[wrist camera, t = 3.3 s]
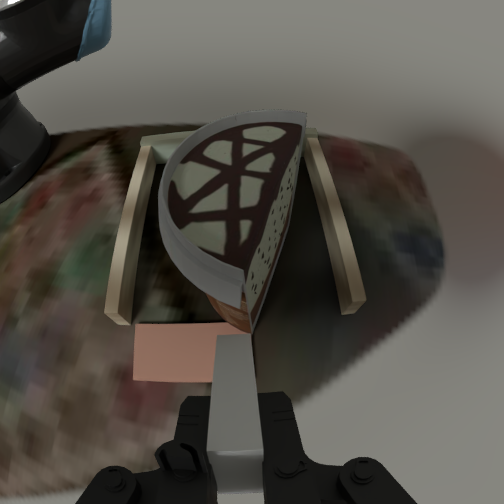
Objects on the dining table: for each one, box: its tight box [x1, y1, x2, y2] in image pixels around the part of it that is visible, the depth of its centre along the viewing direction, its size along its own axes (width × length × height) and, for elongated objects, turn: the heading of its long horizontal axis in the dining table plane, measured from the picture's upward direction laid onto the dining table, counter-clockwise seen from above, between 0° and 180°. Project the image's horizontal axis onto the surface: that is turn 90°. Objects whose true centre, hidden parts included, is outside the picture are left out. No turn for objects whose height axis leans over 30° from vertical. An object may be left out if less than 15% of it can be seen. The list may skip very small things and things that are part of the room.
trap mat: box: [133, 322, 248, 382], centre depth 18 cm, size 4×8×1 cm, turn 94°
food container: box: [158, 110, 307, 335], centre depth 17 cm, size 12×6×10 cm, turn 161°
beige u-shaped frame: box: [104, 128, 366, 325], centre depth 23 cm, size 18×17×3 cm
